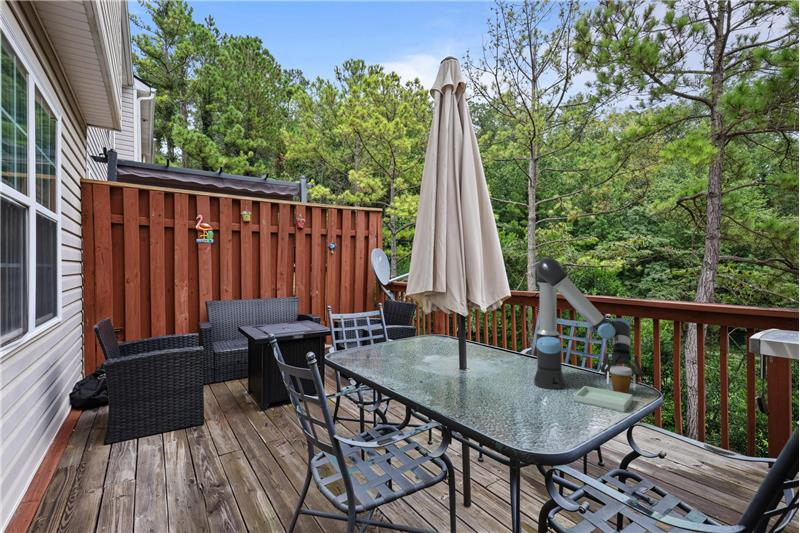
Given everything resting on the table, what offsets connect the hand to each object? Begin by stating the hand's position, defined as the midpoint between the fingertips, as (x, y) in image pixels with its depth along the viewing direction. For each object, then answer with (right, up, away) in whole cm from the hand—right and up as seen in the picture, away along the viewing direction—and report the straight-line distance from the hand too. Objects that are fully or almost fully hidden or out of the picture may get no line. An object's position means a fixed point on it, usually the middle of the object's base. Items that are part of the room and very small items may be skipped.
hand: (620, 387), depth 180 cm
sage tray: (-12, -4, -7) cm, 14 cm away
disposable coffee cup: (+2, -4, +3) cm, 5 cm away
